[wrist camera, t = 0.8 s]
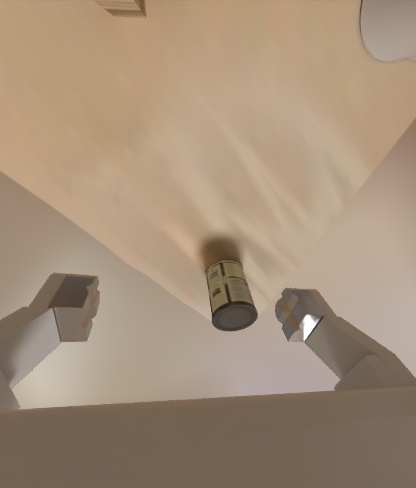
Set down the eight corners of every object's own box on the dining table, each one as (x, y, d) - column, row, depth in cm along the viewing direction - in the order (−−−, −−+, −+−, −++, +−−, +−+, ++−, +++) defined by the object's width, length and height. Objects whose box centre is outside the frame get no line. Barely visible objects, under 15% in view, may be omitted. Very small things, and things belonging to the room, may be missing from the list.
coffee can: (235, 287, 64) (247, 333, 53) (201, 283, 62) (206, 330, 51) (249, 262, 58) (265, 307, 48) (212, 256, 56) (220, 303, 45)
